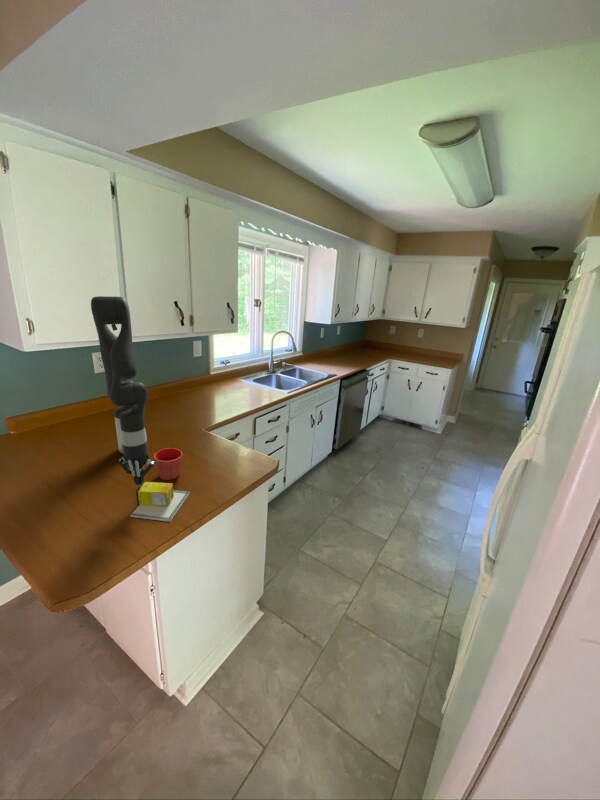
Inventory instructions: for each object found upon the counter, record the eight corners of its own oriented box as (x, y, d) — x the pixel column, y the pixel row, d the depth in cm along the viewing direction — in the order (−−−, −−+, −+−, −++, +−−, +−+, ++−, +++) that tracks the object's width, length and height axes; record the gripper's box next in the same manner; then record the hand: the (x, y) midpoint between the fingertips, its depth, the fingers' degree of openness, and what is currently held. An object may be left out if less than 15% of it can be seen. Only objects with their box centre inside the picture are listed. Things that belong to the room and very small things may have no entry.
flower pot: (184, 467, 137) (183, 447, 134) (181, 481, 127) (180, 460, 124) (158, 468, 135) (157, 448, 132) (153, 483, 125) (151, 461, 122)
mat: (154, 488, 122) (154, 487, 122) (190, 492, 121) (190, 491, 121) (130, 516, 107) (130, 515, 107) (170, 521, 106) (170, 520, 106)
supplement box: (144, 494, 117) (174, 496, 118) (136, 505, 112) (168, 506, 112) (143, 481, 115) (173, 482, 116) (135, 491, 110) (167, 492, 110)
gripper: (159, 437, 109) (162, 479, 115) (122, 433, 110) (127, 475, 116) (147, 447, 102) (151, 492, 108) (108, 443, 103) (114, 487, 109)
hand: (139, 483), depth 112 cm, fingers closed
